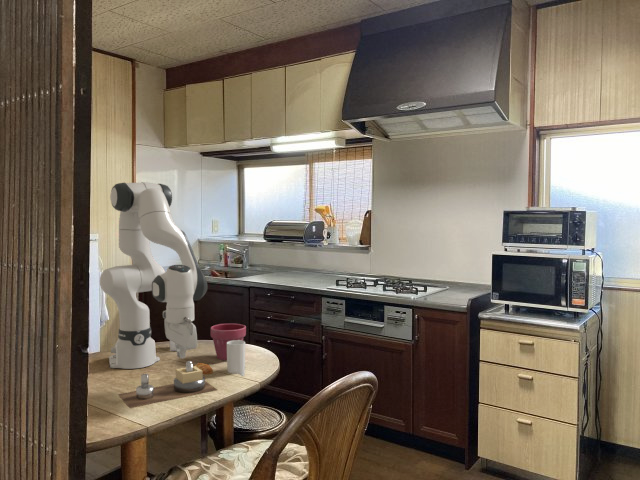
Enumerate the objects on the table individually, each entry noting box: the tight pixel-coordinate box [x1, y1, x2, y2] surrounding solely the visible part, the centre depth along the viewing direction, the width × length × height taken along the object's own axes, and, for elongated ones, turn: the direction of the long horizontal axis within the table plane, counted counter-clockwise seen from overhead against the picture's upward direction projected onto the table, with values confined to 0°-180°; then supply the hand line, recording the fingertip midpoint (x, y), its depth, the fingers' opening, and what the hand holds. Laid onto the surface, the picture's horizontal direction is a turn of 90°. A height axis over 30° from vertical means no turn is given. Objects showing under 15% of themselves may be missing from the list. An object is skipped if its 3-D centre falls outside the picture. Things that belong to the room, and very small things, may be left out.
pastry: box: [193, 362, 214, 376], centre depth 190 cm, size 9×7×4 cm
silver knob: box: [135, 373, 155, 400], centre depth 163 cm, size 5×5×7 cm
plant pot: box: [210, 323, 247, 361], centre depth 212 cm, size 14×14×13 cm
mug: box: [226, 340, 246, 377], centre depth 192 cm, size 10×7×12 cm, turn 170°
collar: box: [175, 365, 204, 384], centre depth 171 cm, size 7×7×3 cm
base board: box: [117, 380, 218, 409], centre depth 168 cm, size 14×28×2 cm, turn 125°
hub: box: [173, 360, 206, 393], centre depth 171 cm, size 10×10×9 cm
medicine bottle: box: [169, 340, 177, 352], centre depth 225 cm, size 7×7×12 cm
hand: (181, 357), depth 169 cm, fingers closed
